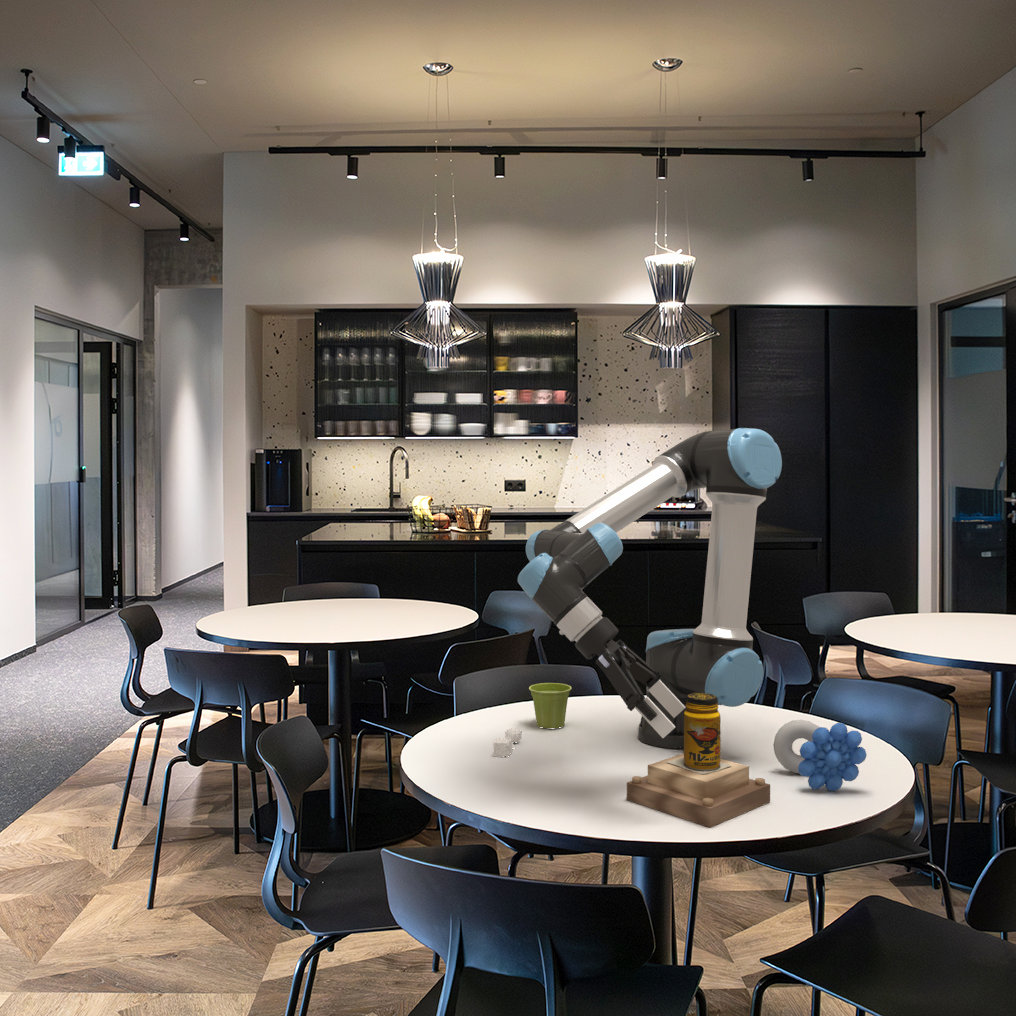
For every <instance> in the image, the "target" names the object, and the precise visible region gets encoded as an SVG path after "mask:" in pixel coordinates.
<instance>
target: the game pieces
mask: <svg viewBox="0 0 1016 1016" xmlns="http://www.w3.org/2000/svg"><path fill="white" fill-rule="evenodd" d="M504 733H505V735H504V736H505V738H501V737H498V738H496V739H495V740H494V741H493V745H492V746H493V754H492V755H493V757H494V756H497V757H498V756H506V757H508V756H509V755H510V753H512V754H513V750H512V748H514V747H515V745H514V743H512V742H517V743H519V742H520V741H521V739H522V737H523V736H522V735H523V731H522V730H521V729H518V728H515V727H513V728H510V729H506V731H504ZM518 741H519V742H518ZM515 748H516V747H515ZM510 756H511V755H510ZM510 756H509V757H510ZM509 757H508V758H509Z"/></svg>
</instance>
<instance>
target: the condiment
mask: <svg viewBox="0 0 1016 1016" xmlns="http://www.w3.org/2000/svg"><path fill="white" fill-rule="evenodd" d="M686 700H687V702H686V710H685V712H684V749H683V753H684V757H683V758H679V759H675V760H672V761H667V763H670V764H674V765H676V766H680V767H682V768H684V769H687V770H690V771H693V772H697V773H699V774H706V773H710V772H714V771H718V770H721V769H724V768H726V767H729V766H732V765H729V764H725V763H722V762H720V759H722V758H721V757H722V756H721V749H722V748H721V742H722V741H721V735H722V734H721V732H722V731H721V714H720V712H719V710H718V709H719V705H718V698H717V697H716V696H715V695H713V694H708V693H692V694H689V695H687V697H686Z"/></svg>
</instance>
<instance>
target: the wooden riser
mask: <svg viewBox="0 0 1016 1016" xmlns="http://www.w3.org/2000/svg"><path fill="white" fill-rule="evenodd" d="M683 757H684V752H683V753H681V754H677V755H675V756H672V757H669V758H665V759H661V760H659V761H656V762H652V763H650V764H647V775H644V776H642V777H641V776H639V775H637V776H632V777H631V780H630V781H627V782H626V800H627V801H629V802H633V803H636V804H638V805H641V806H644V807H647V808H650V809H653V810H656V811H660V812H662V813H665V814H668V815H671V816H675V817H676V818H680V819H684V820H685V821H686V820H687V821H688V822H692V823H695V824H698V825H700V826H704V827H707V828H713V827H714V826H718V825H719V824H722V823H724V822H727V821H729V820H731V819H733V818H736V817H739V816H740V815H743V814H745V813H748V812H749V811H753V810H755V809H758V808H759V807H762V806H764V805H766V804H769V803H771V784H770V783H766V779H765V778H763V777H756V778H755V779H753V778H750V766H748V765H746V764H745V765H744V764H742V763H737V762H734V761H731V760H726V759H722V758H720V762H722V763H725V764H729V765H732V766H729V767H726V768H724V769H721V770H718V771H714V772H710V773H706V774H699V773H697V772H693V771H690V770H687V769H684V768H682V767H680V766H676V765H674V764H670V763H667V761H672V760H675V759H679V758H683Z"/></svg>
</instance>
